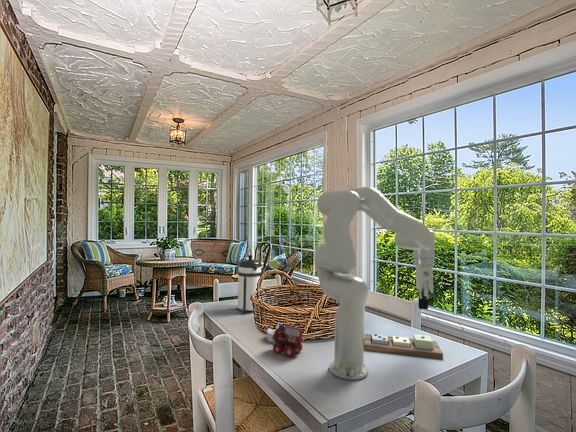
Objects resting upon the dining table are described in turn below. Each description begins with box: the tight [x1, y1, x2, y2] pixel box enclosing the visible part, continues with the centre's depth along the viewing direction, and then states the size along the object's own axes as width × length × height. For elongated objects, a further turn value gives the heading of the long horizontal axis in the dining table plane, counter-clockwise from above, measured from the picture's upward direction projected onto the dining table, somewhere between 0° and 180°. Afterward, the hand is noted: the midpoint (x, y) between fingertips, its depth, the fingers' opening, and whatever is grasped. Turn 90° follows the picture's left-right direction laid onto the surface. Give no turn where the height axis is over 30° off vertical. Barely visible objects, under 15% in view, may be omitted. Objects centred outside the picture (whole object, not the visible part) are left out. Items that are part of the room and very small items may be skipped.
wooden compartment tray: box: [364, 333, 444, 360], centre depth 126 cm, size 12×28×2 cm, turn 76°
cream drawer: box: [391, 335, 410, 347], centre depth 126 cm, size 6×6×3 cm
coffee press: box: [235, 254, 263, 315], centre depth 173 cm, size 17×16×30 cm
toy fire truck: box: [271, 324, 303, 359], centre depth 119 cm, size 7×12×10 cm, turn 58°
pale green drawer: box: [412, 333, 433, 350], centre depth 124 cm, size 6×6×3 cm
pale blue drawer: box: [371, 333, 389, 345], centre depth 128 cm, size 6×6×3 cm
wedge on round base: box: [266, 323, 285, 343], centre depth 132 cm, size 9×7×13 cm
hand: (423, 308), depth 124 cm, fingers closed
